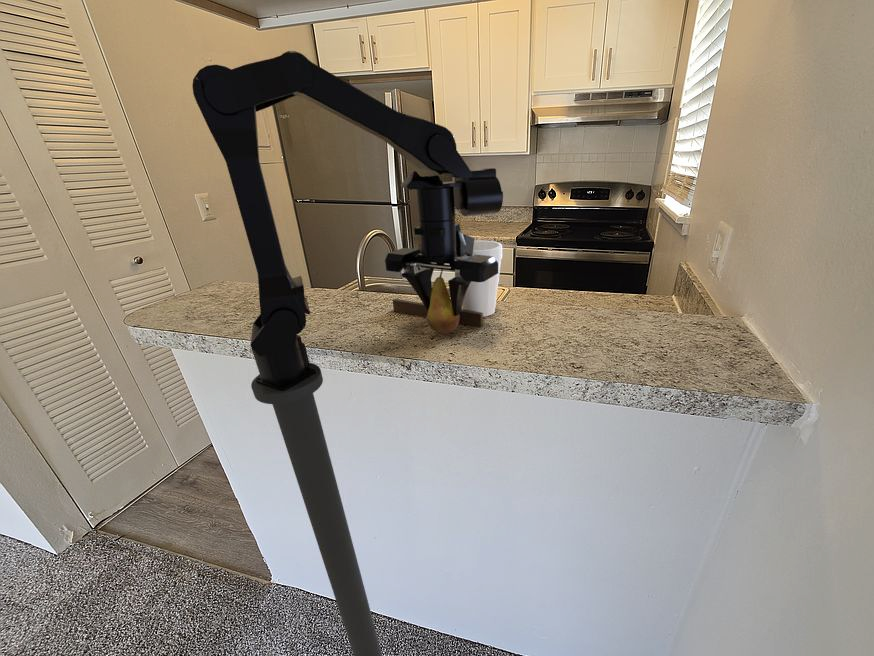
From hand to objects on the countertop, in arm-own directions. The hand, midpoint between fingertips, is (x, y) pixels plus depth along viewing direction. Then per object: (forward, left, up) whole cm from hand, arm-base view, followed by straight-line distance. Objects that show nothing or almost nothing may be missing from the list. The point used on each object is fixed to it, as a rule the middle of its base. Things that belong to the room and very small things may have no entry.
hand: (443, 313), depth 70 cm
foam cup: (+12, -1, -4) cm, 13 cm away
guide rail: (+6, +5, -4) cm, 9 cm away
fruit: (0, 0, -4) cm, 4 cm away
